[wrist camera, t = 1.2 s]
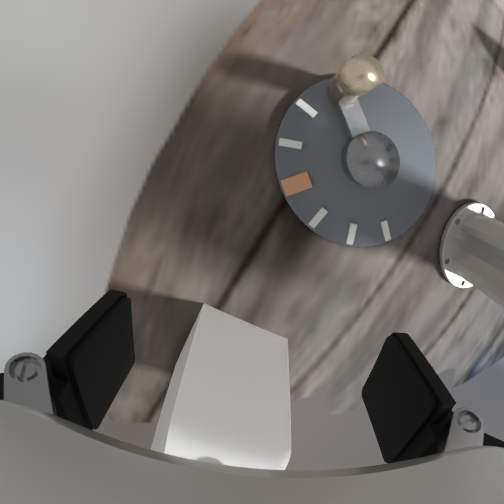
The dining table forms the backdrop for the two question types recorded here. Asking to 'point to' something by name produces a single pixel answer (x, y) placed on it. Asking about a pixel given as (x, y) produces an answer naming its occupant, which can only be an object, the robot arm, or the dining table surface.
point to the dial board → (334, 177)
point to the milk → (228, 396)
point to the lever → (363, 125)
